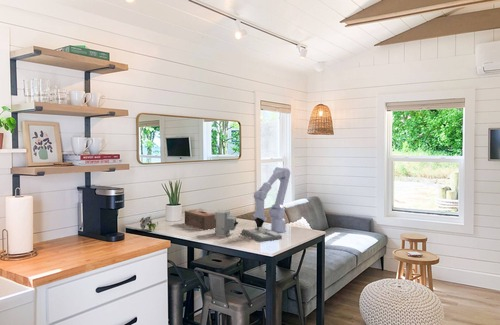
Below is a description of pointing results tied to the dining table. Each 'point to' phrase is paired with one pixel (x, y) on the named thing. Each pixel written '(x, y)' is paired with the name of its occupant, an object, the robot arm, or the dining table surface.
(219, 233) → the circuit breaker
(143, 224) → the passion flower
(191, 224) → the tissue box cover
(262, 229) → the switch
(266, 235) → the breaker panel
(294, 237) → the dining table surface
